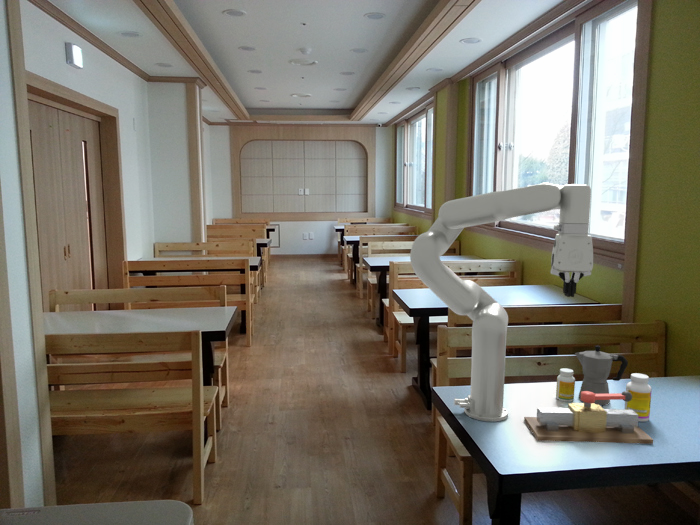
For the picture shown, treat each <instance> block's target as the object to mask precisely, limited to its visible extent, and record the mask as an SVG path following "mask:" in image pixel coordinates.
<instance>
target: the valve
mask: <svg viewBox="0 0 700 525" xmlns="http://www.w3.org/2000/svg"><path fill="white" fill-rule="evenodd" d="M624 409H625V408H622V409H618V408H617V409H616V408H612V409H611V408H603V407H602V406H600V405H597V404H594V403H591V407H590V408H587V407H584V402H571V403H568V404H567V407H546V406H545V407H543V406H542V407H540V406H539V407H536V417H537V421H538V422H539V424H540V425H543V426H544V428H545V429H546V430H547V431H558V430H559V425H562V426H571V427H572V428H573V430H577V431H578V432H586V433H603V431H606V427H616V428H617V429H618V430H619V431H620V432H621V433H632V434H633V433H634V427H635V428H637V426H638V427H639V425H638V424H639V421H638V414H637V413H635V412H634V411H633V410H624Z"/></svg>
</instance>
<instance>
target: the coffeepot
mask: <svg viewBox="0 0 700 525" xmlns="http://www.w3.org/2000/svg"><path fill="white" fill-rule="evenodd" d="M594 349H595V350H585V351H580V352H579V351H577V352H575V353H574V356H576V358H577V359H578V361H579V363H580V365H581V367H582V374H583V379H582V382H581V386H580V389H579V393H578V400H579V401H581V392H582V391H589V392H593V393H595V394H610V388H609V383H608V377H610V374H611V369H612V365H613V362H621V364H620V367H619V370H618V371H617V374H616V376H615V377H611V379H612V381H614V382H619V381H620V380H621V379H622V377H623V374H624V373H625V370H626V368H627V367H628V365H629V362H628V360H627V358H626V357H625V356H624V355H621V354H619V355H618V354H610V353H608V352H604V351H601V346H600V345H595V346H594ZM610 402H611V400H595V402H594V404H597V405H604V406H608V405H609V404H610ZM608 403H609V404H608Z"/></svg>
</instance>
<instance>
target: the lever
mask: <svg viewBox="0 0 700 525" xmlns="http://www.w3.org/2000/svg"><path fill="white" fill-rule="evenodd" d="M631 399H632V394H631V393H630V392H628V391H626V390H624V391H622V392H621V393H620V392H619V393H615V392H614V393H612V392H611V393H609V394H595V393H593V392H589V391H582V392H581V400H580V401H581V402H582V401H583V402H582V403H584V407H587V408H590V407H591V403H594V402H595V400H610V401H615V400H617V401H618V400H622V401H624V402H625V401H626V402H628V401H630V400H631Z"/></svg>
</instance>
